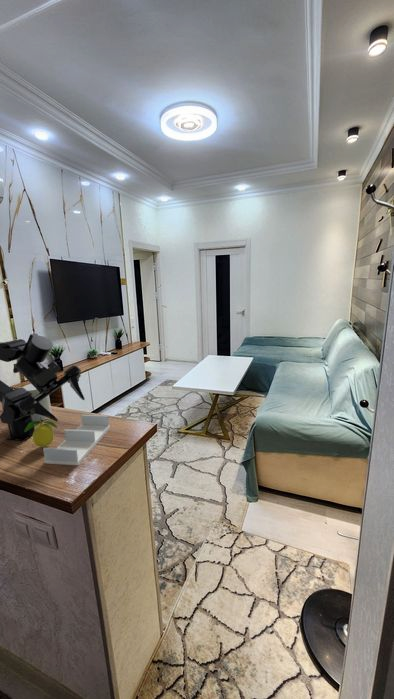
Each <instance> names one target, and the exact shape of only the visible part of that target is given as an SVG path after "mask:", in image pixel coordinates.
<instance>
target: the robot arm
mask: <svg viewBox="0 0 394 699" xmlns="http://www.w3.org/2000/svg"><path fill="white" fill-rule="evenodd" d="M53 348H54V343H53V341H52V340H51V339H50V338H47V337H46V336H43V335H39V334H38V333H36V332H35V333H31V334H29V335H28V339H27V341H25V340H24V339H21V338H19V339H14V340H9V341H4V342H3V341H1V342H0V361H1V362H6V363H10V362H14V361H16V360H17V361H16V363H13V369H12V371H13V374H17V373H21V375H22V376H24V378H25V379H26V380H27V381H28V382H29V384H32V385H33V386H34V387H35V388H36V389H37V390H38V391H39V392H40V393H39V394H38V395H36V396H35V397H34V396H32V395H31V394H32V393H30V392H28V391H27V390H26V389H24V388H23V387H20V388H17V389H13V388H12V387H10V386H9V385H8V384H7V383H5V382H4V381H2V380H1V379H0V403H1V407H2V412H1V414H0V421H1V423H3V424H7V425H8V426H7V427H8V432H9V435H8V436H7V437H6V440H7V441H8V440H9V441H10V440H11V441H26V440H27V439H29V437H31V436H33V432H34V430H35V425H34V426H33V427H32V428H31V429H29V430H28V431H26V432H24V431H25V428H26V427H27V425H28V424H29V423H31V422H33V421H32V417H31V416H30V415H34V414H39V415H42V416H45V417H47V418H48V419H50V420H52V421H54V422H58V421H59V419H58V418H57V417H56V416H55V415H54V414H53V413H52V414H51V413H50V412H49V411H48V410H47V409H45V408H44V407H43V406H42V405H41V404H40V403H39V402H40V401H41V400H43V399H44V398H45V397H47V396H48V395H49V396H50V395H51V394H53V393H54V392H55V391H56V390H58V389H59V388H61V387H62V386H64V385H65V384H67V383H68V384H69V385H70V386H69V387H70V388H71V389H72V390H73V391H74V392H75V394H76V395H77V396H78V397H79V398H80V399H81V400H82V401H85V399H86V398H85V397H84V394H83V392H82V389H81V388H80V385H79V381H80V378H81V375H82V374H81V373H82V372H81V369H80V367H79V366H77V365H74V364H73V365H71V366H70V367H69V368H67V369H66V370H64V371H63V377H61V378H59V379H58V374H57V373H58V372H59V371H61V367H60V366H59V365H58V364H57V362H55V361H54V360H52V361H50V363H48V364H47V367H48V368H47V367H45V366H44V365H43V364H42V363H43V362H45V361H46V359H47V357H48V355H49V354H50V353H51V351H52V349H53Z"/></svg>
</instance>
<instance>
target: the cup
mask: <svg viewBox="0 0 394 699" xmlns="http://www.w3.org/2000/svg"><path fill="white" fill-rule="evenodd" d="M22 388H24V389H26V390H27V391H28V392H30V393H32V394H31V395H32V396H34V397H35V396H36V395H38V394H39V393H40V392H39V391H38V390H37V389H36V388H35V387H34V386H33V385H32V384H31V383H29V384H26V385H24V386H23V387H22ZM39 403H40V404H41V405H42V406H43V407H44V408H45V409H47V410H48V411H49V412H50V413H51V414H53V413H52V406H51V400H50V394H49V395H48V396H47V397H45V398H44V399H43V400H41V401H40V402H39ZM30 416H31V417H32V421H39V420H40V417H41V420H43V419H45V418H47V417H45V416H42V415H39V414H34V415H30ZM43 421H44V420H43ZM39 422H40V421H39Z"/></svg>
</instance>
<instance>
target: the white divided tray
mask: <svg viewBox="0 0 394 699" xmlns="http://www.w3.org/2000/svg"><path fill="white" fill-rule="evenodd" d="M80 418H81V424H80V426H78V427H77V428H75V429H66V428H65V429H63V432H64V438H65V439H64V441H63V442H61V443H60V444H59V445H58V446H57V447H45V448H44V447H43V456H44V459H43V460H44V461H43V462H44V464H49V465H50V464H53V465H66V466H80V464H81V463H82V462H83V461H84V460H85V459H86V457H87V456H88V455H89V454H90V453H91V451H92V450H93V449H94V448H95V446H96V445H97V444H98V443H99V442H100V441H101V439H103V437H104V436H105V435H106V434H107V432H108V431H110V429H111V424H110V421H109V415H102V414H101V415H100V414H81V415H80Z"/></svg>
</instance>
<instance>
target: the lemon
mask: <svg viewBox="0 0 394 699" xmlns="http://www.w3.org/2000/svg"><path fill="white" fill-rule="evenodd" d="M39 422H40V424H38V423H39ZM39 422H38V421H33V422H31V423H29V424H28V425H27V427H26V428H25V431H24V432H26V431H28V430H29V429H31V428H32V427H33V426H34V429H35V430H34V432H33V434H32V441H33V443H34V444H35V446H36V447H40V448H41V447H43V448H48V446H49V445H50V444H52V442H53V441H54V436H55V434H54V431H53V428H52V427H54V428H58V426H57V424H55V423H54V422H53V421H49V420H48V421H41V417H40V420H39ZM37 424H38V425H37ZM36 425H37V426H36ZM35 426H36V427H35ZM51 426H52V427H51Z"/></svg>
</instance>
